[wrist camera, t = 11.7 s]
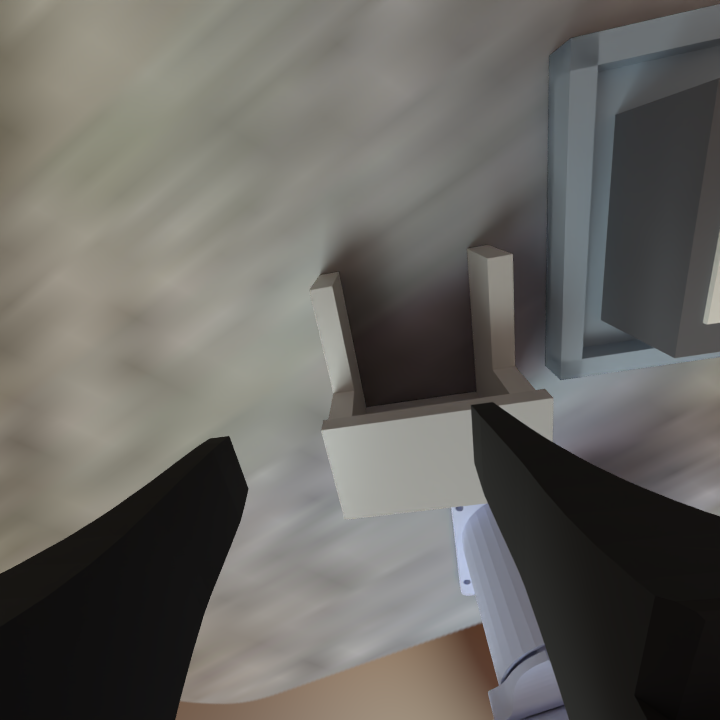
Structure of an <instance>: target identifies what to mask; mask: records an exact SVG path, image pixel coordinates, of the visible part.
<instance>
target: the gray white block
mask: <svg viewBox="0 0 720 720" xmlns="http://www.w3.org/2000/svg"><path fill="white" fill-rule="evenodd" d="M601 320H602V321H603V322H605V323H607V324H609V325H611V326H613V327H615V328H617V329H619V330H621V331H623V332H625V333H627V334H629V335H631V336H632V337H634V338H636V339H638V340H640V341H642V342H644V343H646V344H648V345H650V346H652V347H654V348H656V349H658V350H659V351H661V352H663V353H665V354H667V355H669V356H671V357H673V358H680V357H687V356H694V355H701V354H708V353H715V352H720V78H718V79H715V80H712V81H709V82H707V83H704V84H701V85H698V86H695V87H692V88H690V89H687V90H684V91H681V92H678V93H676V94H673V95H670V96H667V97H664V98H661V99H659V100H656V101H653V102H650V103H647V104H645V105H642V106H639V107H636V108H633V109H630V110H628V111H625V112H622V113H619V114H616V115H615V128H614V142H613V155H612V169H611V183H610V197H609V211H608V225H607V239H606V253H605V267H604V281H603V295H602V309H601Z"/></svg>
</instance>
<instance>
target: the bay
mask: <svg viewBox="0 0 720 720" xmlns="http://www.w3.org/2000/svg"><path fill="white" fill-rule="evenodd" d="M467 259H468V274H469V288H470V303H471V318H472V332H473V347H474V362H475V376H476V392H469V393H462V394H455V395H448V396H442V397H435V398H428V399H421V400H414V401H407V402H400V403H393V404H386V405H379V406H372V407H366V404H365V399H364V394H363V389H362V384H361V379H360V374H359V369H358V364H357V359H356V354H355V349H354V344H353V339H352V334H351V329H350V324H349V319H348V314H347V310H346V305H345V300H344V295H343V290H342V285H341V280H340V275H339V272H334V273H329V274H323V275H319V277H318V278H317V280H316V281H315V282H314V284H313V285H312V287H311V288H310V290H309V293H310V297H311V301H312V305H313V309H314V314H315V318H316V322H317V326H318V330H319V335H320V339H321V343H322V347H323V352H324V356H325V360H326V364H327V368H328V373H329V377H330V381H331V385H332V389H333V399H332V404H331V409H330V414H329V419H328V420H323V425H322V429H321V432H322V435H323V439H324V443H325V447H326V451H327V454H328V458H329V462H330V466H331V470H332V473H333V477H334V481H335V485H336V489H337V492H338V496H339V500H340V504H341V508H342V511H343V515H344V519H345V520H347V519H356V518H365V517H373V516H382V515H391V514H399V513H408V512H417V511H425V510H434V509H443V508H451V507H460V506H469V505H477V504H486V503H488V502H487V500H486V498H485V496H484V493H483V490H482V487H481V484H480V480H479V477H478V474H477V471H476V467H475V464H474V451H473V435H472V418H471V405H474V404H481V403H489V402H493V403H495V404H496V405H498V406H499V407H501V408H502V409H504V410H505V411H506V412H508V413H509V414H511V415H512V416H514V417H515V418H516V419H518V420H519V421H521V422H522V423H524V424H525V425H527V426H528V427H530V428H531V429H533V430H534V431H536V432H537V433H539V434H540V435H542V436H543V437H545V438H547V439H548V440H550V441H552V439H553V397H552V396H551V395H550V394H549V393H548V392H547V391H546V389H540V390H535V389H534V388H533V386H532V385H531V384H530V383H529V382H528V381H527V380H526V378H525V377H524V376H523V375H522V374H521V373H520V372H519V370H518V369H517V368H516V367H515V333H514V287H513V254H511V253H508V252H506V251H503V250H500V249H498V248H495V247H492V246H490V245H483V246H478V247H472V248H467Z"/></svg>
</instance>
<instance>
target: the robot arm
mask: <svg viewBox="0 0 720 720" xmlns="http://www.w3.org/2000/svg"><path fill="white" fill-rule="evenodd" d="M471 418H472V435H473V451H474V464H475V467H476V471H477V474H478V477H479V480H480V484H481V487H482V490H483V493H484V496H485V498H486V500H487V502H488V503H486V504H477V505H469V506H460V507H451V512H452V521H453V530H454V539H455V547H456V556H457V565H458V574H459V582H460V589H461V593H462V594H463V595H467V596H469V595H475V596H476V600H477V603H478V607H479V611H480V615H481V619H482V622H483V626H484V630H485V634H486V638H487V641H488V645H489V648H490V653H491V657H492V660H493V664H494V667H495V671H496V675H497V679H498V683H499V686H498V687H496V688H495V689H492V690H490V691H489V692H488V694H489V699H490V703H491V707H492V712H493V716H494V720H720V516H717V515H714V514H711V513H708V512H705V511H702V510H699V509H696V508H694V507H691V506H688V505H685V504H683V503H680V502H677V501H674V500H672V499H669V498H667V497H664V496H662V495H659V494H657V493H654V492H652V491H649V490H647V489H644V488H642V487H640V486H637V485H635V484H633V483H630V482H628V481H626V480H624V479H621V478H619V477H617V476H615V475H613V474H611V473H609V472H607V471H605V470H603V469H601V468H598V467H596V466H594V465H592V464H590V463H589V462H587V461H585V460H583V459H581V458H579V457H577V456H576V455H574V454H572V453H570V452H569V451H567V450H565V449H563V448H562V447H560V446H558V445H556V444H555V443H553V442H552V441H550V440H548V439H547V438H545V437H543V436H542V435H540V434H539V433H537V432H536V431H534V430H533V429H531V428H530V427H528V426H527V425H525V424H524V423H522V422H521V421H519V420H518V419H516V418H515V417H514V416H512V415H511V414H509V413H508V412H506V411H505V410H504V409H502V408H501V407H499V406H498V405H496V404H495V403H493V402H489V403H481V404H474V405H471ZM247 493H248V486H247V484H246V481H245V478H244V475H243V473H242V470H241V467H240V464H239V462H238V459H237V456H236V453H235V451H234V448H233V445H232V442H231V440H230V437H229V436H226V437H219V438H211V439H209V440H207V441H205V442H204V443H202V444H201V445H199V446H198V447H196V448H195V449H194V450H192V451H191V452H189V453H188V454H187V455H185V456H184V457H183V458H181V459H180V460H179V461H177V462H176V463H175V464H173V465H172V466H171V467H170V468H168V469H167V470H166V471H164V472H163V473H162V474H160V475H159V476H158V477H156V478H155V479H154V480H152V481H151V482H150V483H148V484H147V485H145V486H144V487H143V488H141V489H140V490H138V491H137V492H136V493H134V494H133V495H131V496H130V497H129V498H127V499H126V500H124V501H123V502H121V503H120V504H119V505H117V506H116V507H114V508H113V509H111V510H110V511H108V512H107V513H105V514H104V515H102V516H101V517H99V518H98V519H96V520H95V521H93V522H92V523H90V524H88V525H87V526H85V527H83V528H82V529H80V530H79V531H77V532H75V533H74V534H72V535H70V536H69V537H67V538H65V539H64V540H62V541H60V542H58V543H56V544H55V545H53V546H51V547H49V548H47V549H46V550H44V551H42V552H40V553H38V554H36V555H35V556H33V557H31V558H29V559H27V560H26V561H24V562H22V563H20V564H18V565H16V566H15V567H13V568H11V569H9V570H7V571H5V572H3V573H1V574H0V720H175V718H176V714H177V710H178V706H179V702H180V698H181V694H182V690H183V687H184V683H185V679H186V675H187V672H188V668H189V664H190V661H191V657H192V653H193V650H194V646H195V643H196V640H197V636H198V633H199V630H200V626H201V623H202V620H203V616H204V613H205V610H206V608H207V605H208V602H209V599H210V596H211V594H212V591H213V589H214V586H215V584H216V581H217V579H218V576H219V574H220V572H221V569H222V567H223V564H224V562H225V559H226V557H227V554H228V552H229V549H230V547H231V544H232V542H233V539H234V537H235V534H236V531H237V529H238V526H239V524H240V521H241V517H242V514H243V510H244V506H245V502H246V497H247Z"/></svg>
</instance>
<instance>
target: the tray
mask: <svg viewBox="0 0 720 720" xmlns="http://www.w3.org/2000/svg"><path fill="white" fill-rule="evenodd" d="M718 78H720V4H717V5H713V6H708V7H704V8H700V9H695V10H691V11H687V12H682V13H678V14H673V15H669V16H665V17H660V18H656V19H652V20H647V21H643V22H639V23H634V24H630V25H625V26H621V27H617V28H612V29H608V30H604V31H599V32H595V33H591V34H586V35H582V36H577V37H573V38H570V39H569V40H568V41H567V42H565V43H564V44H563V45H562V46H561V47H559V48H558V49H557V50H556V51H554V52H553V53H552V54H551V55H550V56H549V109H548V189H547V269H546V349H545V366H546V367H547V368H548V369H550V370H551V371H552V372H553V373H554V374H555V375H556V376H557V377H558V378H559V379H560V380H564V379H571V378H578V377H585V376H592V375H599V374H606V373H612V372H619V371H626V370H633V369H640V368H647V367H654V366H661V365H668V364H675V363H682V362H689V361H696V360H703V359H710V358H717V357H720V352H715V353H708V354H701V355H694V356H687V357H680V358H673V357H671V356H669V355H667V354H665V353H663V352H661V351H659V350H658V349H656V348H654V347H652V346H650V345H648V344H646V343H644V342H642V341H640V340H638V339H636V338H634V337H632V336H631V335H629V334H627V333H625V332H623V331H621V330H619V329H617V328H615V327H613V326H611V325H609V324H607V323H605V322H603V321H602V320H601V309H602V295H603V281H604V267H605V253H606V239H607V225H608V211H609V197H610V183H611V169H612V155H613V142H614V128H615V115H616V114H619V113H622V112H625V111H628V110H630V109H633V108H636V107H639V106H642V105H645V104H647V103H650V102H653V101H656V100H659V99H661V98H664V97H667V96H670V95H673V94H676V93H678V92H681V91H684V90H687V89H690V88H692V87H695V86H698V85H701V84H704V83H707V82H709V81H712V80H715V79H718Z"/></svg>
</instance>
